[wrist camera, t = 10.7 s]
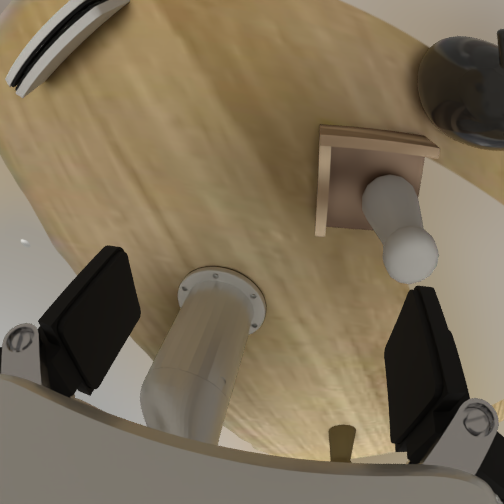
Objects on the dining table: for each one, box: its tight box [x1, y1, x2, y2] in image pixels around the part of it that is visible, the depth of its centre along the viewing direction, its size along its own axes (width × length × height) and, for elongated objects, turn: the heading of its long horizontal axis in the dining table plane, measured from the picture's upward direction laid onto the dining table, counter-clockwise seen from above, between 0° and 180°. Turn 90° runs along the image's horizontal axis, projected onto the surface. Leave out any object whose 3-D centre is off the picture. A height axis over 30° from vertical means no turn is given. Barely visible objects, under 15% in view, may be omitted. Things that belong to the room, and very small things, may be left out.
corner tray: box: [315, 124, 440, 237], centre depth 30 cm, size 11×11×5 cm
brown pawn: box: [329, 425, 356, 463], centre depth 56 cm, size 6×6×11 cm
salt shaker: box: [362, 174, 439, 284], centre depth 26 cm, size 6×6×13 cm
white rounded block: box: [5, 0, 130, 98], centre depth 25 cm, size 17×5×10 cm, turn 117°
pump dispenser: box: [418, 29, 504, 151], centre depth 18 cm, size 10×10×15 cm
